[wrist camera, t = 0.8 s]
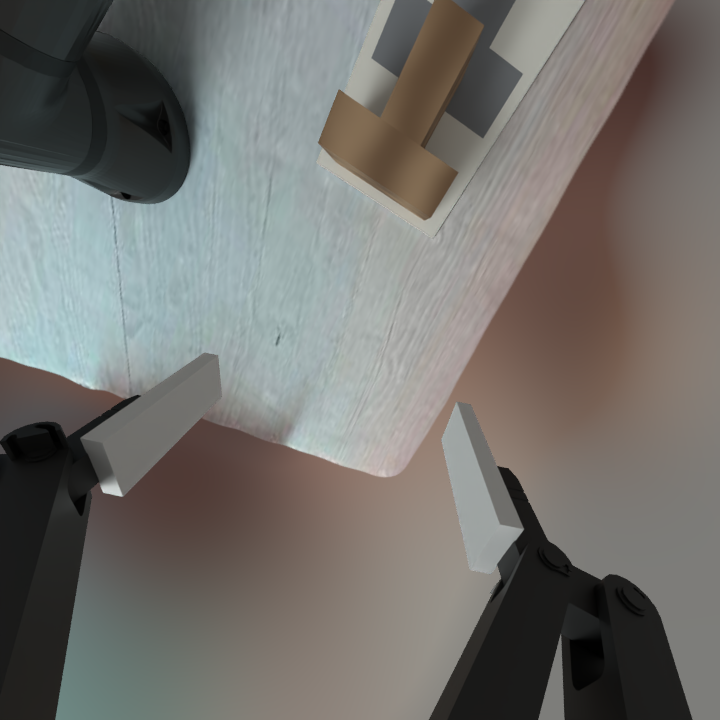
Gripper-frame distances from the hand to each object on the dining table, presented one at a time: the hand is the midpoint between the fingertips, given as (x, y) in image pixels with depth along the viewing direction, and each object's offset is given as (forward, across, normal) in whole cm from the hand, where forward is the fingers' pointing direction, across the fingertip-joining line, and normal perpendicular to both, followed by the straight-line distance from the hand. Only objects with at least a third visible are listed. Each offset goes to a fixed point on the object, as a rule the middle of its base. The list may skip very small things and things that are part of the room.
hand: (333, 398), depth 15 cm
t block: (+25, +1, +18) cm, 30 cm away
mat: (+25, +3, +22) cm, 34 cm away
